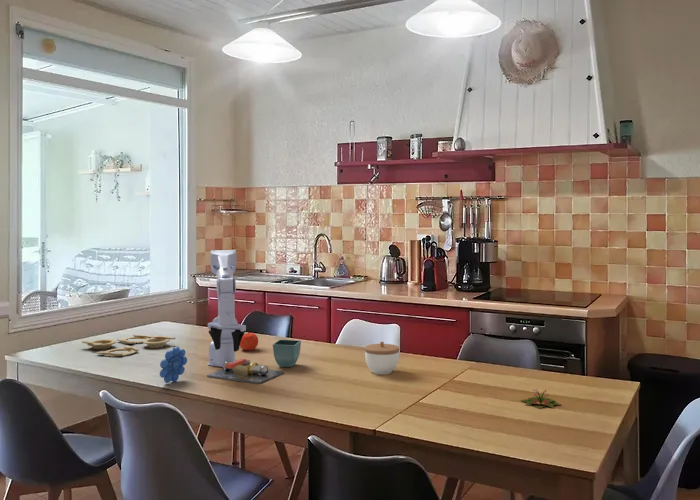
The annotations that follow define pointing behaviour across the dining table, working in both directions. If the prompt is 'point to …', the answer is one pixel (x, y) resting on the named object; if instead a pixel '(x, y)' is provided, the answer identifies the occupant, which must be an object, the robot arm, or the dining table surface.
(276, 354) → the flower pot
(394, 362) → the lidded bowl
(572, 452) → the dining table surface
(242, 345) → the apple
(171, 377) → the grapes
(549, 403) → the lily flower
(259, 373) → the valve body
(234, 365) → the lever
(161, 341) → the tableware set
